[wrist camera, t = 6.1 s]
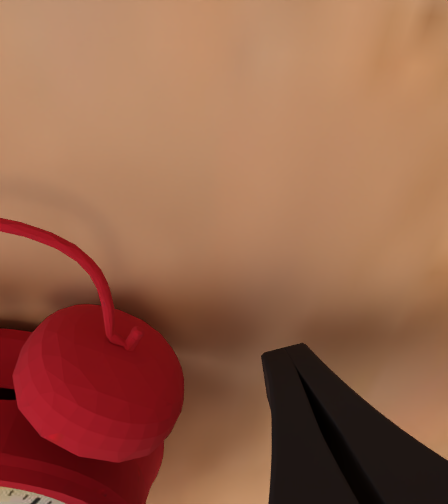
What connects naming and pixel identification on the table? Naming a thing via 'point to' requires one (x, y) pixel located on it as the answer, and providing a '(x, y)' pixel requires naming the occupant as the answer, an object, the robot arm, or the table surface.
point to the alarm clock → (84, 399)
